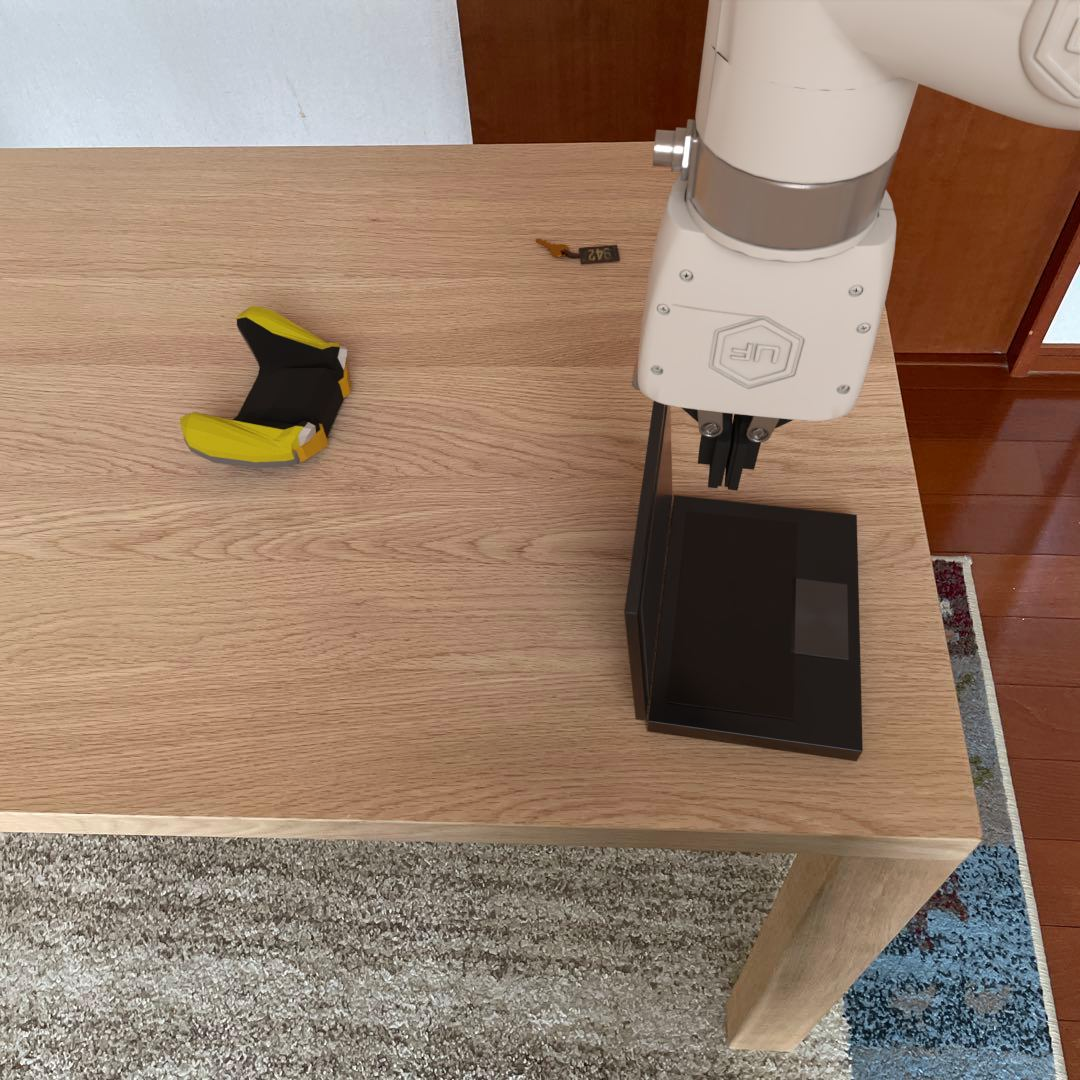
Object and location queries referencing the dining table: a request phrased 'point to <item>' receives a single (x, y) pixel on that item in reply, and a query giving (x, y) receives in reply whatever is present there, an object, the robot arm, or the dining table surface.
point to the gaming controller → (276, 398)
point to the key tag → (584, 252)
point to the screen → (649, 557)
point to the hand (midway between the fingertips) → (723, 468)
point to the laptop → (760, 629)
